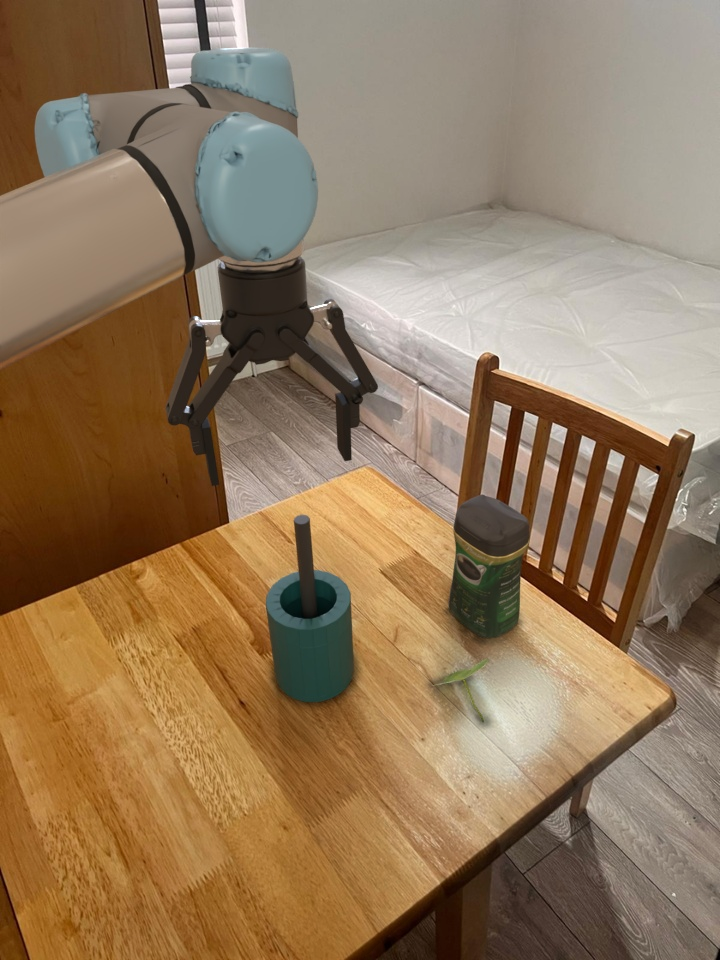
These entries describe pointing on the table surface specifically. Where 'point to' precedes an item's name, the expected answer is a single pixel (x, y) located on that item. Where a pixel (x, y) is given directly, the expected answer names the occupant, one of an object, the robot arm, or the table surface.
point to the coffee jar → (488, 566)
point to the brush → (305, 566)
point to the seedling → (464, 674)
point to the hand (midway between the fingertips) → (280, 466)
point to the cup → (311, 638)
